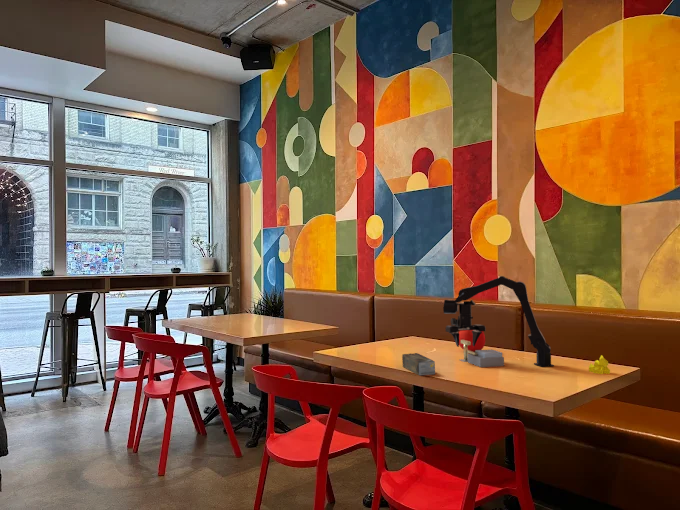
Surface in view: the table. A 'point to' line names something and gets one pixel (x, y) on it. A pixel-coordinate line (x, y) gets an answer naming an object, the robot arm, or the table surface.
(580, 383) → the table surface
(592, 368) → the yellow crystal cluster
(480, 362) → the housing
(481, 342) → the tomato
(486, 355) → the cover
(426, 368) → the beverage carton
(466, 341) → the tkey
